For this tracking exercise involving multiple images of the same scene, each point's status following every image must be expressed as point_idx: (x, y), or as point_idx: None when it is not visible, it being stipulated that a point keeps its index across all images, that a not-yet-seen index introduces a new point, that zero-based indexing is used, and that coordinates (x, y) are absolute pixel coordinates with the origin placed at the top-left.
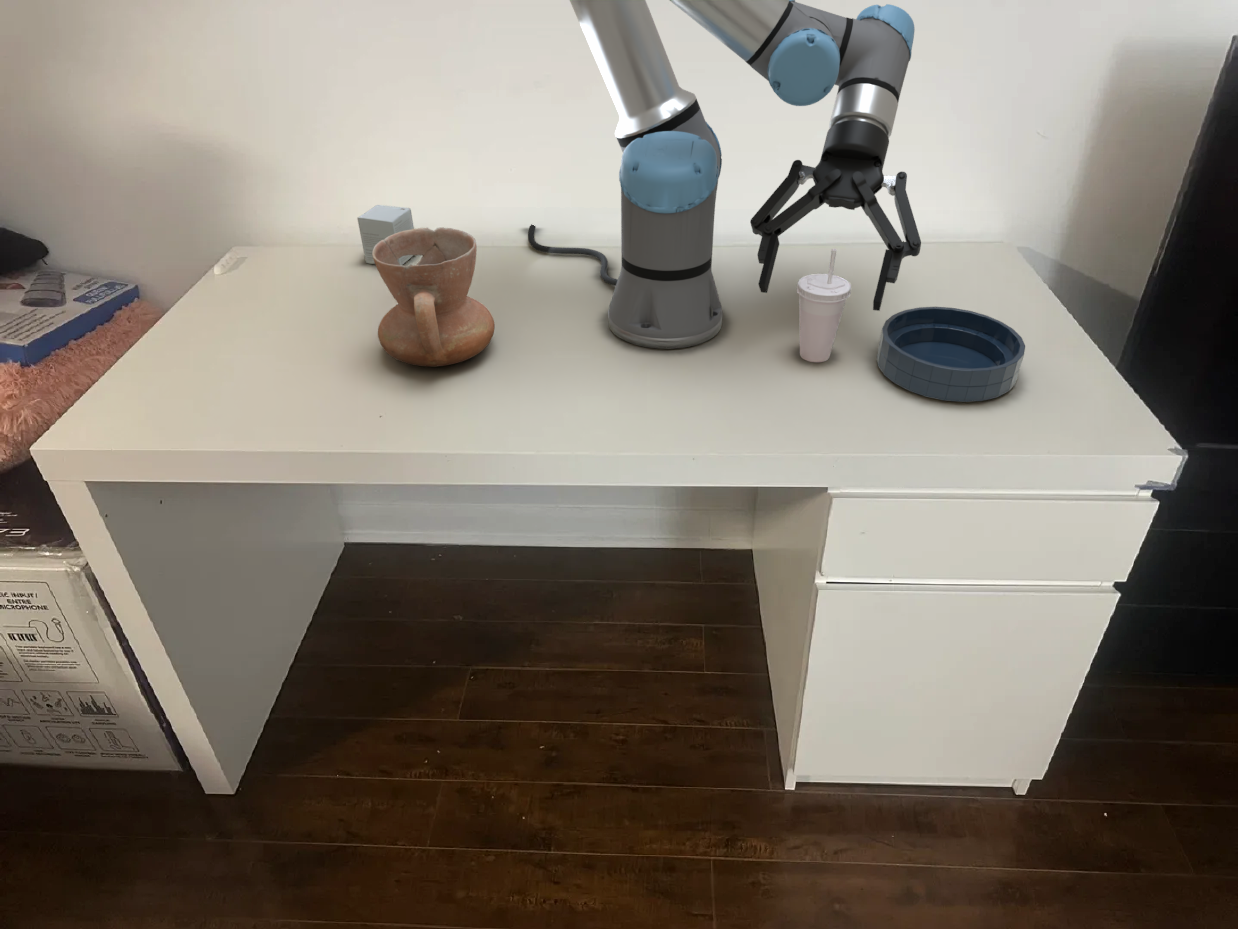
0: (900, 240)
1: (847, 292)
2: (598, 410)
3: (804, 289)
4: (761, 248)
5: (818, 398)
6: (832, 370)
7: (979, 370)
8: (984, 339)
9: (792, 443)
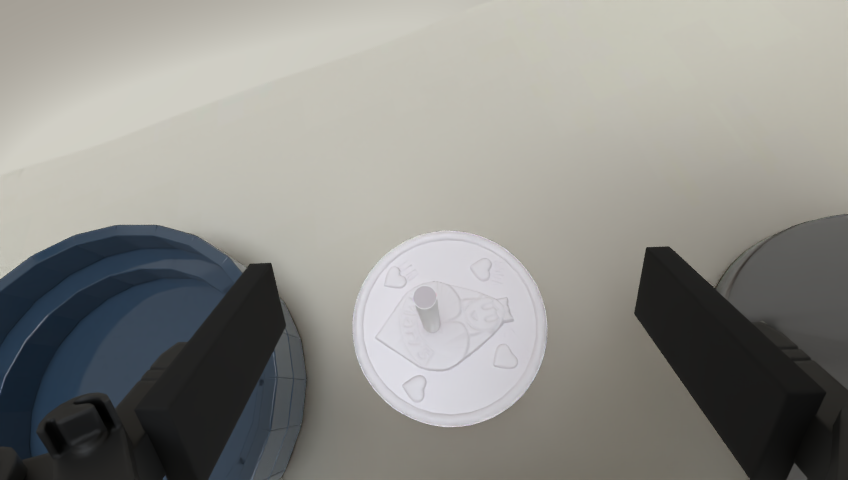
0: (59, 472)
1: (359, 292)
2: (738, 12)
3: (502, 248)
4: (794, 356)
5: (400, 182)
6: None
7: (57, 244)
8: None
9: (411, 49)
